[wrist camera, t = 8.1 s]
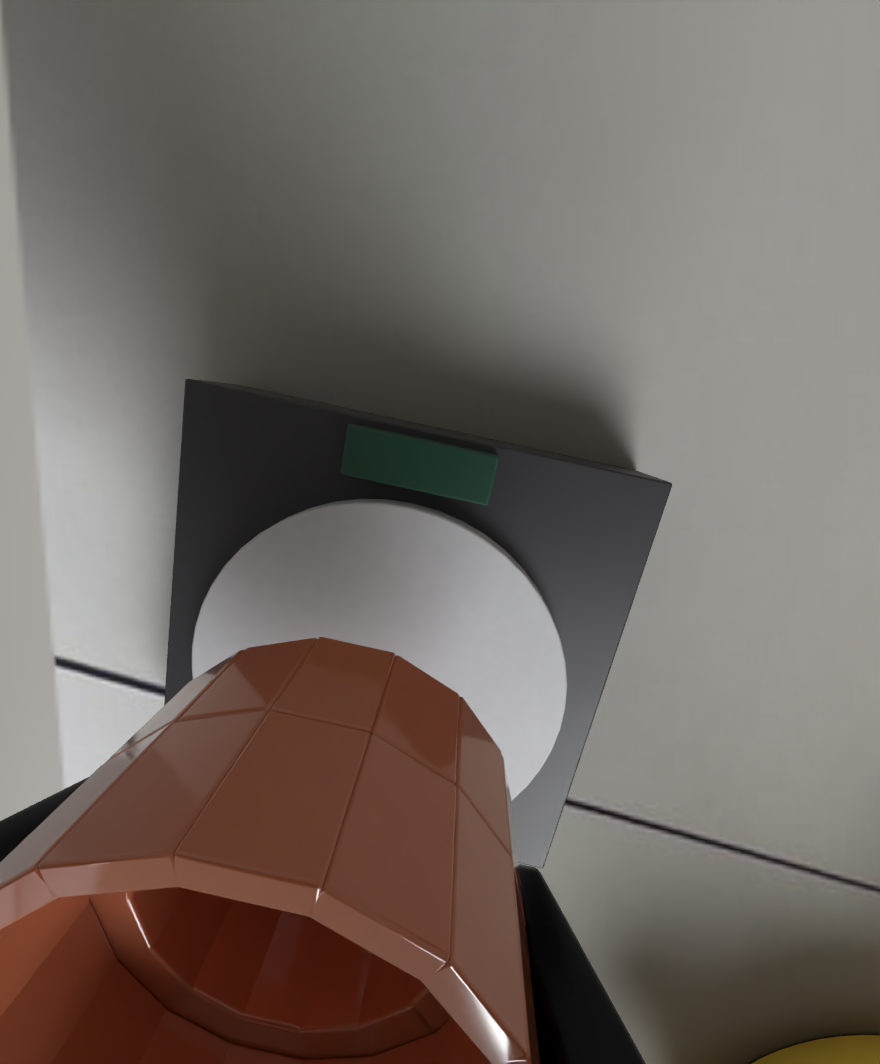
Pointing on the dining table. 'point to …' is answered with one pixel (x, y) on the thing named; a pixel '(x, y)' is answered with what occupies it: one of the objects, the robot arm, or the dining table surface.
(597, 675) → the scale
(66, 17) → the dining table surface
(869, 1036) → the teapot
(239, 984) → the bowl
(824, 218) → the dining table surface
